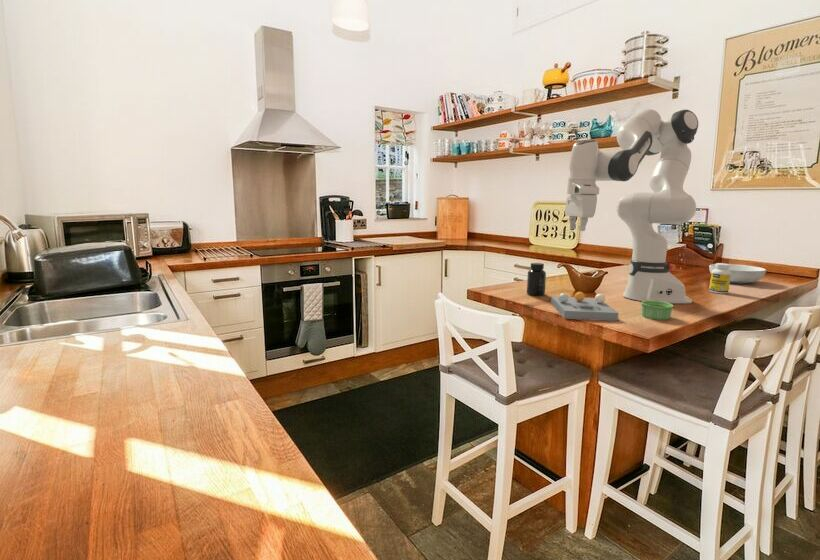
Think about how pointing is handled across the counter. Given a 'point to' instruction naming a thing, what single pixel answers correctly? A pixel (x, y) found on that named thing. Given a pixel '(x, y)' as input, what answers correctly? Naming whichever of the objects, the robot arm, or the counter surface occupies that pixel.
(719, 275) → the pill bottle
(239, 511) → the counter surface
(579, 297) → the ball
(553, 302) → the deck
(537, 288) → the supplement bottle
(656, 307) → the ramekin
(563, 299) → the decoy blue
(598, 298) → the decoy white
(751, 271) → the serving bowl
